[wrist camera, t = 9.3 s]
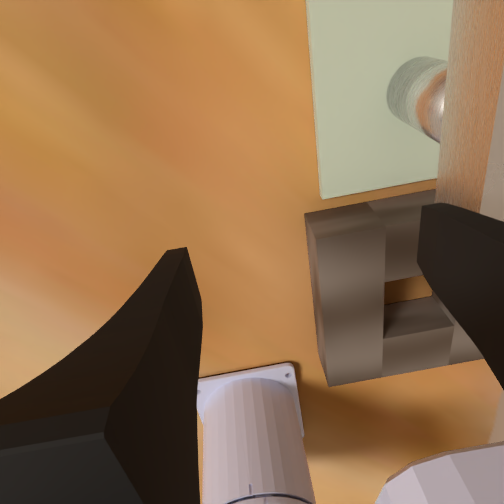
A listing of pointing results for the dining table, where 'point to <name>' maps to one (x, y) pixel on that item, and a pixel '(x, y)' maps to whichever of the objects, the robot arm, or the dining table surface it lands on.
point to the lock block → (376, 293)
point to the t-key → (461, 107)
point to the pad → (370, 90)
